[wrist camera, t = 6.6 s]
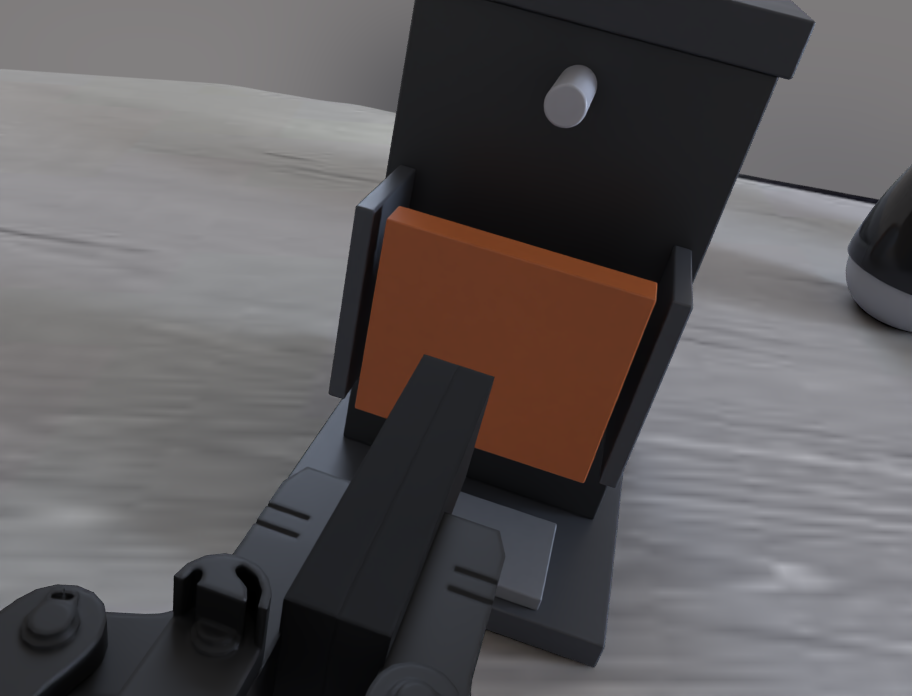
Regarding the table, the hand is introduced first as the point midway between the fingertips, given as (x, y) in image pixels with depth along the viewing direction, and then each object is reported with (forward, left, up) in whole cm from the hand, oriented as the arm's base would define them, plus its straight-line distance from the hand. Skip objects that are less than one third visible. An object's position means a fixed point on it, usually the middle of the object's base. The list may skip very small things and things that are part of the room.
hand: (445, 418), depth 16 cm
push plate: (+8, -3, -6) cm, 10 cm away
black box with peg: (+13, -5, -13) cm, 19 cm away
